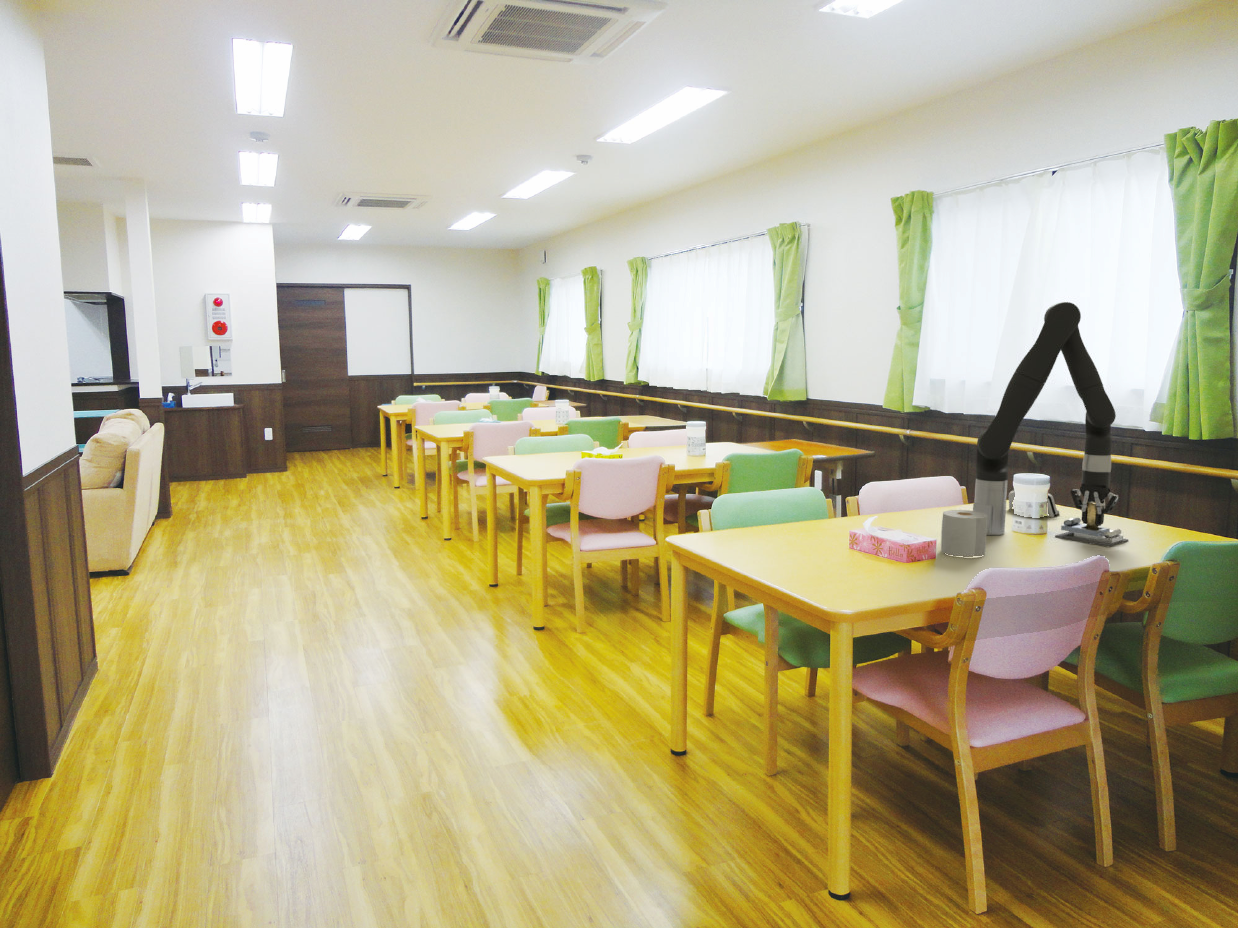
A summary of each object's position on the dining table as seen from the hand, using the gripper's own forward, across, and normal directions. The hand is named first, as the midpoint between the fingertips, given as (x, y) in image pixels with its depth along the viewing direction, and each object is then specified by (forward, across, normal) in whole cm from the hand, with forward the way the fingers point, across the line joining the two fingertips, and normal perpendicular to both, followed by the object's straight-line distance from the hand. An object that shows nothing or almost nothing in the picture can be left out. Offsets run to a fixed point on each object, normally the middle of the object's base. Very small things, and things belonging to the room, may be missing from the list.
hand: (1092, 524), depth 251 cm
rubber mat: (+5, 0, 0) cm, 5 cm away
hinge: (+5, -32, +24) cm, 40 cm away
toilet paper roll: (+5, -14, -46) cm, 48 cm away
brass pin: (+3, 0, 0) cm, 3 cm away
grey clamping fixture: (+5, 0, 0) cm, 5 cm away
